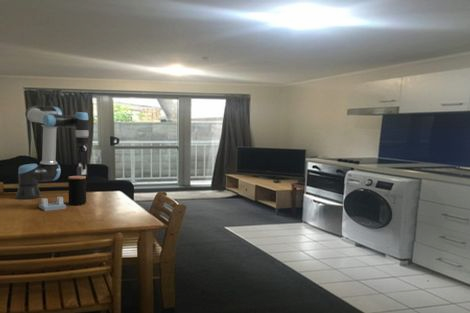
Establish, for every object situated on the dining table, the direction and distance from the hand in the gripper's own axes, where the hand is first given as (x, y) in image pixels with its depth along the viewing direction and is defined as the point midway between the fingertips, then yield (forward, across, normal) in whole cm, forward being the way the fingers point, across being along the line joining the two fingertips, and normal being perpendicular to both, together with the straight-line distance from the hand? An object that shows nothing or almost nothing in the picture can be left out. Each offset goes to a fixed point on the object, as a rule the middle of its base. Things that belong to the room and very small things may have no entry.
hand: (82, 173), depth 234 cm
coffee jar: (+21, -10, 0) cm, 23 cm away
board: (+21, -7, -16) cm, 27 cm away
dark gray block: (0, 0, 0) cm, 1 cm away
